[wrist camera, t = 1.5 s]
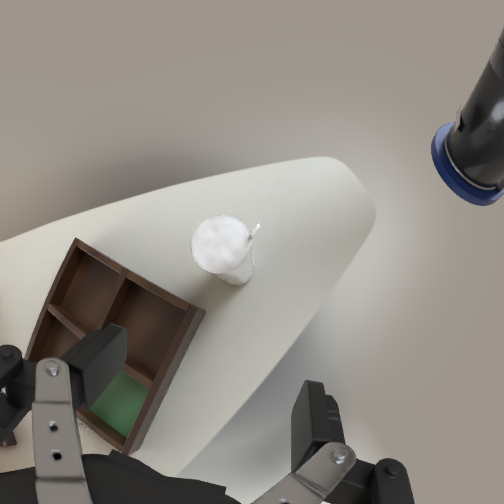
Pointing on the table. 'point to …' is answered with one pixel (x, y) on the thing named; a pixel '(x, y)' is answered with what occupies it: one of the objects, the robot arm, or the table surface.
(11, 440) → the hardcover book
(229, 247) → the milkshake
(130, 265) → the table surface
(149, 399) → the grid
